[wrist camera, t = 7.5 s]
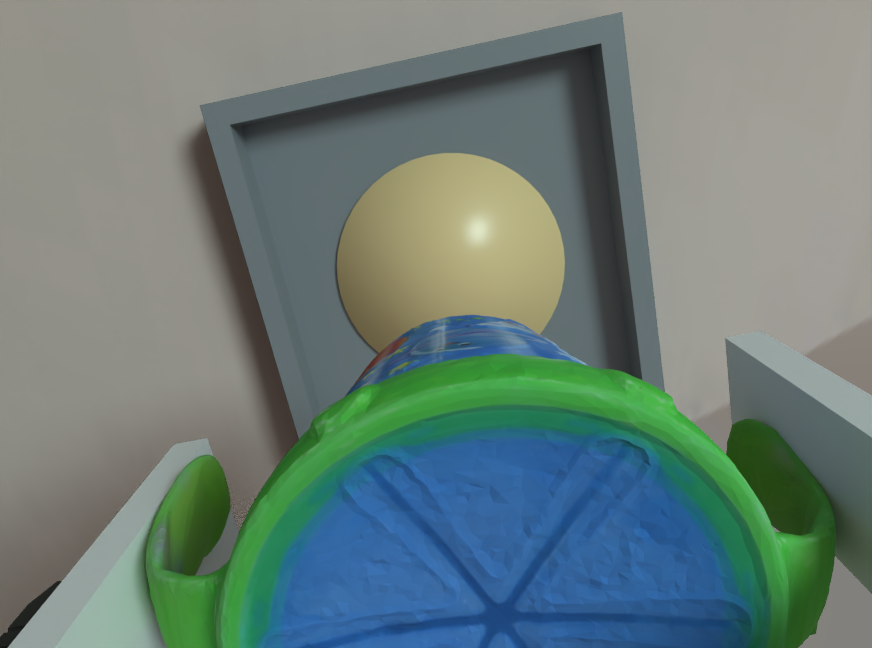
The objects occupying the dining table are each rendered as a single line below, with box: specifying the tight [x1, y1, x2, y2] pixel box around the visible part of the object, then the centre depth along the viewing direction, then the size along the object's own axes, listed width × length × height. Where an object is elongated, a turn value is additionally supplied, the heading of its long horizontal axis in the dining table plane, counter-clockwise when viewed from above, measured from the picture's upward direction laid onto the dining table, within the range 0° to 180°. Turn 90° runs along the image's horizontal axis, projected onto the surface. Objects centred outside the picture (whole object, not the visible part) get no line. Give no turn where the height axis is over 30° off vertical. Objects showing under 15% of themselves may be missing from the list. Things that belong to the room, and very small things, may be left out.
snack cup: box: [146, 315, 836, 648], centre depth 12 cm, size 11×8×7 cm
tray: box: [200, 12, 665, 439], centre depth 30 cm, size 18×19×3 cm
